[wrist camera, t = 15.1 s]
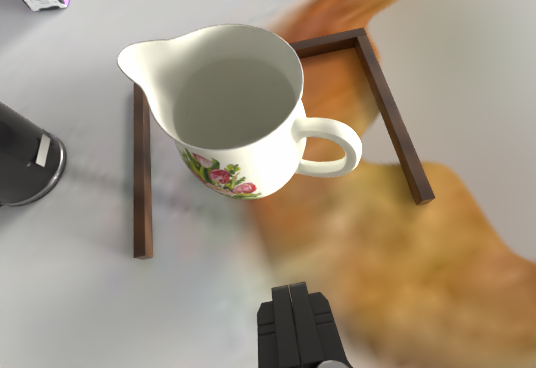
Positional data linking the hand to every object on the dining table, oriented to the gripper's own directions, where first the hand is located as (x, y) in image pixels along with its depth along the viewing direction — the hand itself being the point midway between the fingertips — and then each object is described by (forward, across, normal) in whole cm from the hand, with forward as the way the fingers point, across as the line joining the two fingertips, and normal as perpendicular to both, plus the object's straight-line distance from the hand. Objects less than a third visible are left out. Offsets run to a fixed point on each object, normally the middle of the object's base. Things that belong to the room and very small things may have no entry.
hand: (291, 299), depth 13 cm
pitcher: (+20, +1, +1) cm, 20 cm away
